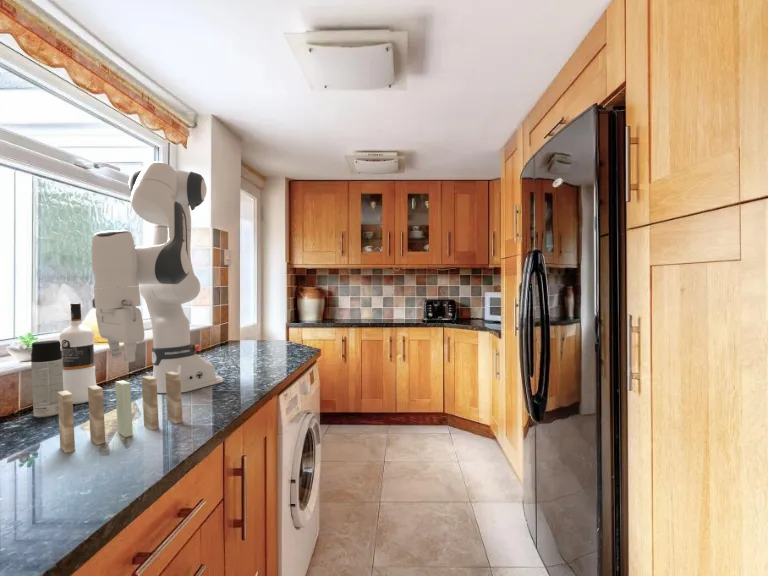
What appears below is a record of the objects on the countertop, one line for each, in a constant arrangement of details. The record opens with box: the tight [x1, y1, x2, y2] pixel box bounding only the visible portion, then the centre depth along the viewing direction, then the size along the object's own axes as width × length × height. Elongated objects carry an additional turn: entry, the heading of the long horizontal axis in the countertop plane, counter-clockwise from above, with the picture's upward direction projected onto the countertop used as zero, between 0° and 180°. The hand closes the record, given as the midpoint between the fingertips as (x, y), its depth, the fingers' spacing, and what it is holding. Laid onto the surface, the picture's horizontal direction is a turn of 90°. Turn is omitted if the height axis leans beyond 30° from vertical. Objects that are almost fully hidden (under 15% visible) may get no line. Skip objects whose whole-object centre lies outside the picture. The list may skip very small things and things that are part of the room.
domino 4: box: [141, 375, 160, 431], centre depth 101 cm, size 2×5×12 cm, turn 48°
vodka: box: [59, 302, 97, 405], centre depth 128 cm, size 9×9×30 cm
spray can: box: [30, 339, 64, 418], centre depth 115 cm, size 7×7×20 cm
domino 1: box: [57, 390, 76, 454], centre depth 89 cm, size 2×5×12 cm, turn 48°
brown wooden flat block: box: [88, 384, 106, 446], centre depth 93 cm, size 2×5×12 cm, turn 48°
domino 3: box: [114, 379, 134, 438], centre depth 97 cm, size 2×5×12 cm, turn 48°
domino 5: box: [165, 372, 183, 424], centre depth 105 cm, size 2×5×12 cm, turn 48°
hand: (123, 359), depth 97 cm, fingers open, 8 cm apart
